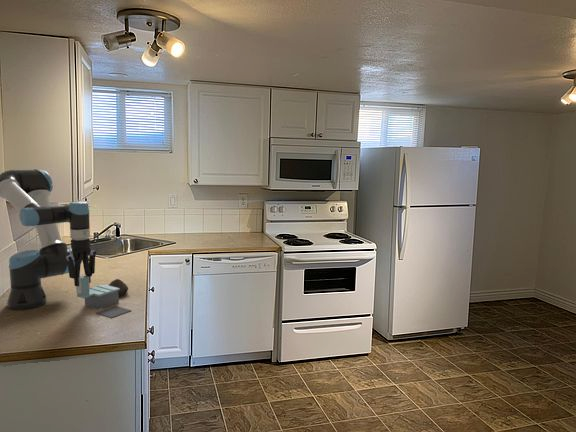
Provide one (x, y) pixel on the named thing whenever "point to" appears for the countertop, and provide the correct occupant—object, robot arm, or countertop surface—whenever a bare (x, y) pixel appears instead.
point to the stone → (120, 285)
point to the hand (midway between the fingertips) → (83, 291)
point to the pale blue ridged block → (94, 288)
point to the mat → (113, 311)
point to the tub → (102, 300)
